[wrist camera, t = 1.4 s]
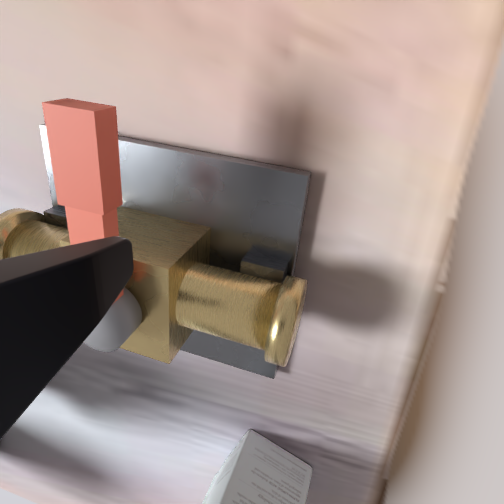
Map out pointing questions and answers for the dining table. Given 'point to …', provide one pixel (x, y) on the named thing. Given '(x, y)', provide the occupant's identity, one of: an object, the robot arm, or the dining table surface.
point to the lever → (91, 194)
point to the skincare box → (260, 475)
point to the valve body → (197, 251)
